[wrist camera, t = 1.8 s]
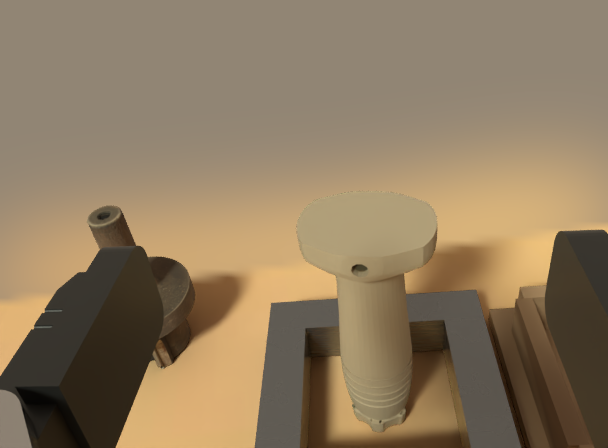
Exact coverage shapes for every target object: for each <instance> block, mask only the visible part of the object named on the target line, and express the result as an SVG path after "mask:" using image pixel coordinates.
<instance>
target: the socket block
mask: <svg viewBox="0 0 608 448" xmlns="http://www.w3.org/2000/svg"><path fill="white" fill-rule="evenodd" d="M406 302H407V312H408V320H409V328H410V336H411V344H412V352H418V351H437V350H443V351H444V356H445V361H446V367H447V372H448V377H449V382H450V387H451V392H452V397H453V402H454V407H455V412H456V417H457V422H458V427H459V432H460V437H461V443H462V448H521V445H520V442H519V438H518V435H517V431H516V428H515V424H514V421H513V417H512V414H511V410H510V407H509V403H508V400H507V396H506V393H505V389H504V386H503V382H502V379H501V375H500V372H499V368H498V365H497V361H496V358H495V354H494V351H493V347H492V344H491V340H490V337H489V333H488V329H487V326H486V322H485V319H484V315H483V312H482V308H481V305H480V301H479V298H478V294H477V291H476V290H466V291H450V292H435V293H419V294H406ZM325 356H341V353H340V331H339V308H338V299H327V300H311V301H296V302H281V303H271V310H270V319H269V328H268V336H267V345H266V354H265V363H264V371H263V380H262V389H261V398H260V406H259V415H258V424H257V432H256V441H255V448H308V429H309V400H310V372H311V357H325Z"/></svg>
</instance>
